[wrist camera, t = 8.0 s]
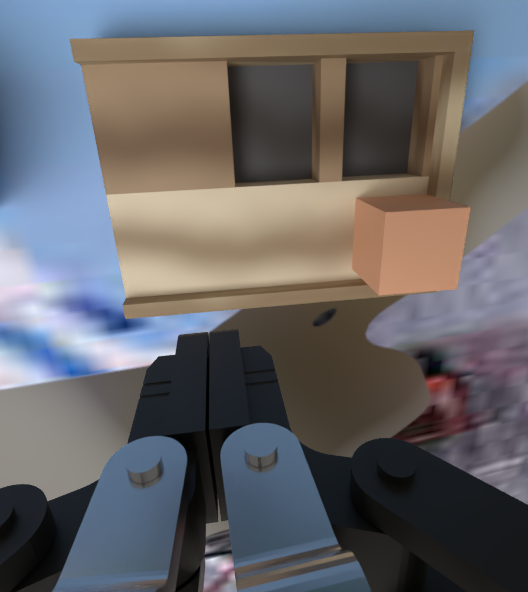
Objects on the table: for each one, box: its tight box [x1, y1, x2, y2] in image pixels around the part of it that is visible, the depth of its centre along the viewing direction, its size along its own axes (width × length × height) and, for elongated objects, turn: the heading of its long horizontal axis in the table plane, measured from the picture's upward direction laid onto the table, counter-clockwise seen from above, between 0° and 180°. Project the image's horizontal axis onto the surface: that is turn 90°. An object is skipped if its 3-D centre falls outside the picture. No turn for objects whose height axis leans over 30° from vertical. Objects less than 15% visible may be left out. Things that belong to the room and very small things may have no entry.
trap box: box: [70, 31, 474, 319], centre depth 26 cm, size 16×22×4 cm
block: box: [352, 194, 471, 295], centre depth 25 cm, size 5×5×5 cm
